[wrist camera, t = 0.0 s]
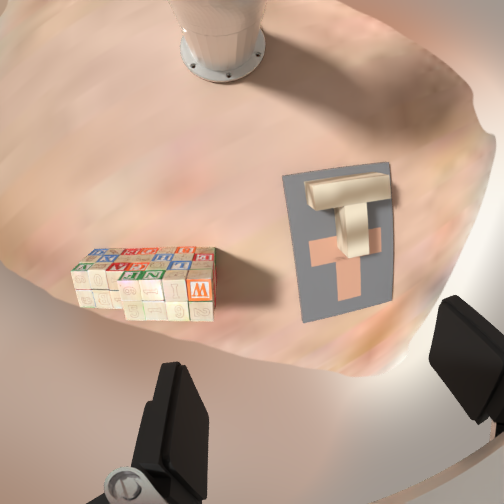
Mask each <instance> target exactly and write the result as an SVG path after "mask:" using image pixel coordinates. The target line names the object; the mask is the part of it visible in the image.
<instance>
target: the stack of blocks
mask: <svg viewBox="0 0 504 504" xmlns="http://www.w3.org/2000/svg"><path fill="white" fill-rule="evenodd" d="M71 274H72V278H73V283H74V287H75V289H76V294H77V298H78V301H79V305H80V307H90V308H95V307H96V308H110V309H113V308H114V309H124V313H125V318H126V320H138V321H146V320H155V321H156V320H160V321H166V320H168V321H198V322H211V321H214V309H215V307H216V283H217V280H216V262H215V247H160V248H142V249H125V248H114V249H94V250H93V251H92V252H91V253H90V254H88V255H87V256H86V257H85V258H84V259H82V260H81V261H80V262H79V264H78V265H77V266H76V267H75V268H74V269H73V270H72V271H71Z"/></svg>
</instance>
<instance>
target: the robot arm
mask: <svg viewBox="0 0 504 504" xmlns="http://www.w3.org/2000/svg"><path fill="white" fill-rule="evenodd" d="M168 2H169V4H170V6H171V8H172V10H173V12H174V15H175V17H176V19H177V21H178V24H179V26H180V28H181V31H182V33H183V37H182V39H181V44H180V53H181V57H182V60H183V62H184V64H185V65H186V67H187V68H188V69H189V70H190V71H191V72H192V73H193V74H194V75H196V76H198V77H199V78H201V79H204V80H207V81H212V82H230V81H235V80H238V79H241V78H243V77H245V76H247V75H248V74H249V73H251V72H252V71H253V70H254V69H255V68H256V67H257V66H258V65H259V63H260V62H261V60H262V58H263V56H264V52H265V37H264V34H263V32H262V30H261V28H260V26H261V22H262V19H263V15H264V11H265V7H266V4H267V0H168ZM256 55H259V57H257V56H256ZM193 66H196V67H195V68H192V67H193ZM227 76H231V77H230V78H228V77H227ZM429 362H430V365H431V366H432V367H433V369H434V370H435V371H436V372H437V373H438V375H439V376H440V378H441V379H442V380H443V382H444V383H445V384H446V386H447V387H448V388H449V390H450V391H451V392H452V394H453V395H454V396H455V398H456V399H457V401H458V402H459V403H460V405H461V406H462V407H463V409H464V410H465V412H466V413H467V415H468V416H469V417H470V419H471V420H475V421H476V423H477V424H478V425H479V424H480V423H482V422H484V421H485V420H486V419H488V417H489V416H490V417H491V419H492V423H491V432H490V440H489V443H487V444H486V445H484V446H483V447H482V448H480V449H479V450H477V451H476V452H474V453H472V454H471V455H469V456H468V457H466V458H464V459H463V460H461V461H460V462H458V463H456V464H455V465H452V466H451V467H449V468H447V469H445V470H444V471H442V472H440V473H438V474H436V475H434V476H432V477H430V478H429V479H426V480H424V481H422V482H420V483H418V484H416V485H414V486H411V487H409V488H407V489H405V490H402V491H400V492H398V493H395V494H393V495H390V496H388V497H385V498H382V499H380V500H377V501H374V502H371V503H369V504H504V335H503V334H502V333H501V332H500V331H499V330H498V329H496V328H495V327H494V326H493V325H492V324H491V323H490V322H488V321H487V320H486V319H485V318H484V317H483V316H482V315H480V314H479V313H478V312H477V311H476V310H474V309H473V308H472V307H471V306H470V305H468V304H467V303H466V302H465V301H463V300H462V299H461V298H460V297H459V296H457V295H453V296H450V297H448V298H445V299H443V300H442V302H441V304H440V305H439V309H438V314H437V320H436V325H435V331H434V335H433V340H432V345H431V349H430V353H429ZM208 436H209V416H208V413H207V411H206V408H205V406H204V404H203V402H202V400H201V398H200V396H199V394H198V391H197V389H196V387H195V385H194V383H193V380H192V378H191V376H190V374H189V371H188V369H187V367H186V366H185V365H181V364H180V363H179V362H170V363H163V364H162V365H161V369H160V372H159V376H158V380H157V384H156V388H155V392H154V397H153V400H152V401H148V402H147V403H146V405H145V408H144V412H143V416H142V421H141V424H140V428H139V433H138V437H137V441H136V446H135V450H134V455H133V459H132V464H131V467H120V468H118V469H116V470H114V471H113V472H111V473H110V474H109V475H108V476H107V478H106V479H105V482H104V492H105V493H103V494H102V495H100V496H98V497H97V498H95V499H93V500H92V501H90V502H88V503H86V504H202V500H205V499H206V498H207V470H208Z"/></svg>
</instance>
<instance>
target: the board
mask: <svg viewBox="0 0 504 504" xmlns="http://www.w3.org/2000/svg"><path fill="white" fill-rule="evenodd" d="M367 172H378V173H382V174H387V175H389V177H390V169H389V162H381V163H371V164H363V165H354V166H346V167H338V168H331V169H324V170H317V171H310V172H304V173H297V174H291V175H285V176H282V180H283V186H284V192H285V198H286V205H287V211H288V218H289V224H290V231H291V238H292V245H293V252H294V259H295V267H296V274H297V282H298V290H299V298H300V306H301V315H302V321H303V323H307V322H311V321H315V320H320V319H324V318H328V317H332V316H336V315H340V314H344V313H348V312H352V311H356V310H360V309H363V308H367V307H371V306H374V305H378V304H381V303H385V302H388V301H392V282H393V214H392V195H391V199H384V200H378V201H372V202H367V216H368V233H369V254H367V255H362V256H358V257H353V258H348V257H347V256H346V255H345V254H344V253H343V252H342V251H341V250H340V249H339V248H338V247H337V235H336V224H335V214H334V208H330V209H324V210H319V211H315V210H314V209H313V208H312V207H310V206H309V205H308V204H307V201H306V194H305V187H304V181H311V180H317V179H324V178H330V177H337V176H345V175H352V174H360V173H367ZM390 189H391V181H390Z"/></svg>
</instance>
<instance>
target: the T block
mask: <svg viewBox="0 0 504 504" xmlns="http://www.w3.org/2000/svg"><path fill="white" fill-rule="evenodd" d="M304 187H305V194H306V201H307V204H308V205H309V206H310V207H312V208H313V209H314V210H315V211H319V210H324V209H330V208H334V214H335V224H336V235H337V247H338V248H339V249H340V250H341V251H342V252H343V253H344V254H345V255H346V256H347V257H348V258H353V257H358V256H362V255H367V254H369V233H368V216H367V202H372V201H378V200H384V199H391V189H390V177H389V175H387V174H382V173H378V172H367V173H360V174H352V175H345V176H337V177H330V178H324V179H317V180H311V181H304Z"/></svg>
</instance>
